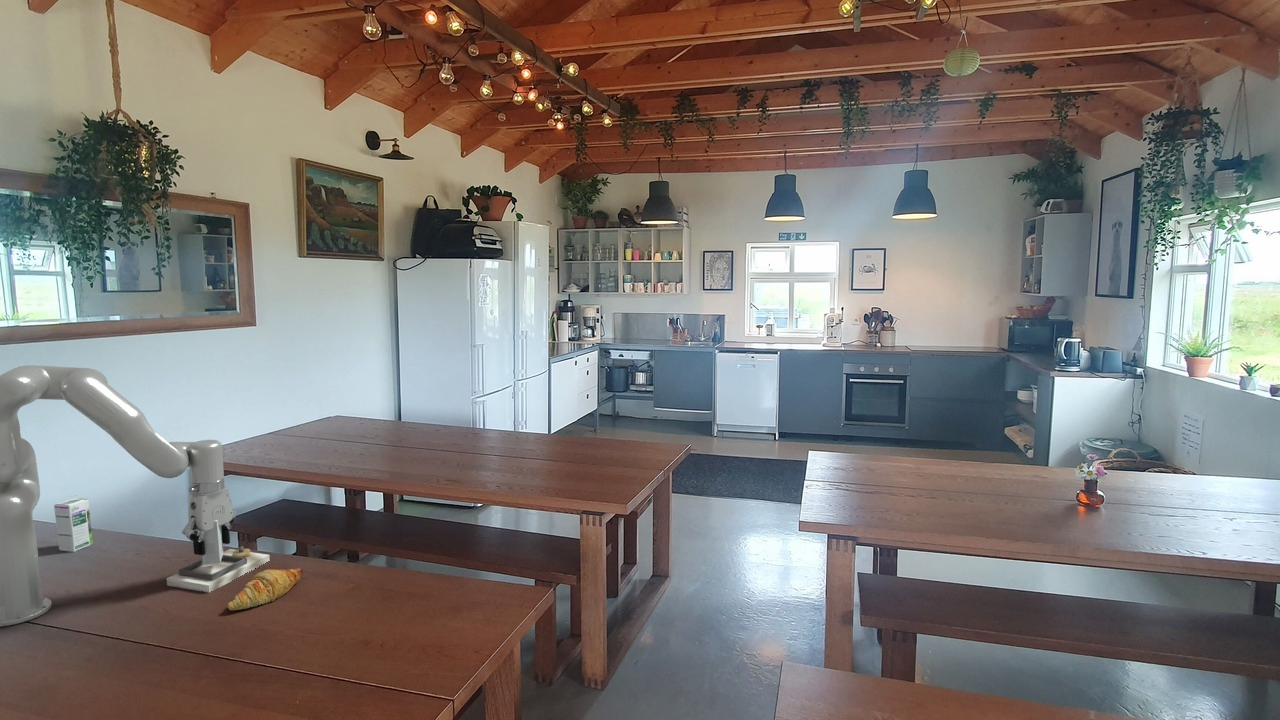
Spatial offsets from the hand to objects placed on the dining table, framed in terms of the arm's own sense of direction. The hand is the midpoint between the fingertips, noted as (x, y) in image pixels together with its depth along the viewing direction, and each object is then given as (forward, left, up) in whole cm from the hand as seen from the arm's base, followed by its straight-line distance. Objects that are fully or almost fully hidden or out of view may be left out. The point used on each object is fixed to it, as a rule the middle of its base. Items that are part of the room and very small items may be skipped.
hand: (212, 548), depth 183 cm
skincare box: (0, 0, -4) cm, 4 cm away
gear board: (+2, 0, -8) cm, 8 cm away
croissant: (-5, -22, -8) cm, 24 cm away
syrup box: (+3, +55, -8) cm, 56 cm away
